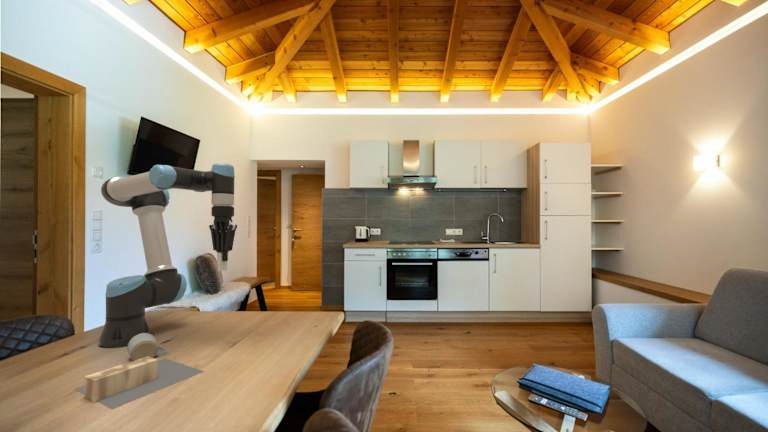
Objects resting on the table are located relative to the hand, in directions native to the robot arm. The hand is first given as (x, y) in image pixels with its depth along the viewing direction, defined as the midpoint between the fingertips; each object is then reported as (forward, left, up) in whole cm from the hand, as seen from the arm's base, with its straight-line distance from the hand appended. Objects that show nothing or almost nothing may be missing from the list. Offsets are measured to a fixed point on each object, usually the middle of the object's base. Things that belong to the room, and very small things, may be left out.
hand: (222, 270), depth 121 cm
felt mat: (+9, -30, -26) cm, 41 cm away
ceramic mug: (-9, -20, -27) cm, 35 cm away
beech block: (+9, -28, -23) cm, 37 cm away
